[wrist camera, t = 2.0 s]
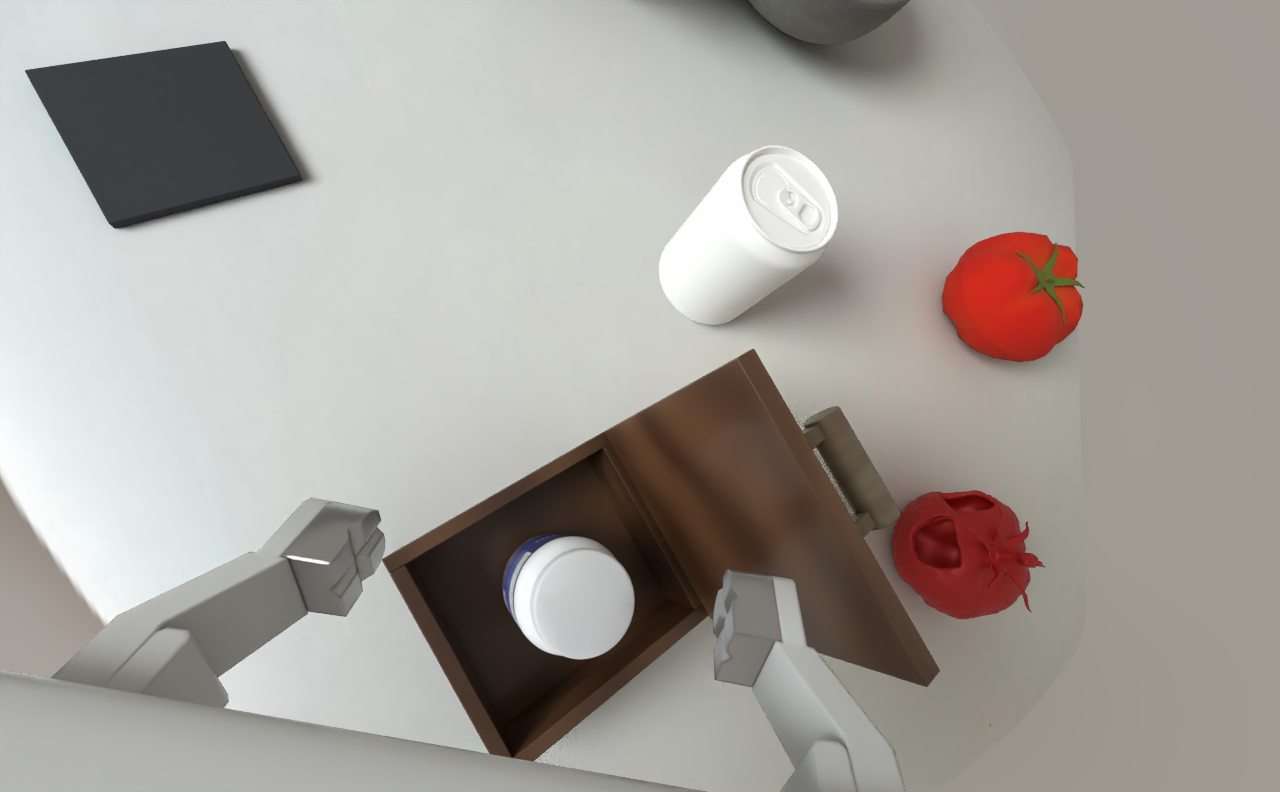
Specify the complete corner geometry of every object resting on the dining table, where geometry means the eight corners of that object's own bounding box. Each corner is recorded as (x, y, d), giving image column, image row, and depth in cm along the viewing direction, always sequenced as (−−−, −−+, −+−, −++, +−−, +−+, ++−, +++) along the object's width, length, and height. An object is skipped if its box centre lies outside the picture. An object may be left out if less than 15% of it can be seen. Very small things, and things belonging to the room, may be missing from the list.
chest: (496, 741, 30) (506, 784, 25) (392, 553, 30) (381, 559, 25) (675, 600, 35) (712, 613, 31) (586, 441, 36) (607, 429, 31)
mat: (114, 229, 29) (108, 223, 28) (31, 78, 29) (23, 69, 29) (303, 180, 33) (300, 174, 32) (228, 48, 33) (225, 40, 33)
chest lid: (927, 687, 17) (998, 596, 19) (736, 357, 17) (828, 305, 19) (710, 618, 30) (767, 569, 32) (604, 431, 30) (667, 395, 32)
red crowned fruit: (982, 556, 46) (1104, 564, 38) (926, 638, 42) (1048, 668, 33) (919, 467, 46) (1027, 455, 37) (856, 541, 42) (961, 546, 33)
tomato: (967, 393, 50) (1063, 370, 42) (904, 282, 50) (987, 239, 42) (1032, 342, 55) (1128, 313, 47) (974, 242, 55) (1060, 197, 48)
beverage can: (683, 217, 43) (764, 113, 32) (758, 275, 44) (861, 194, 33) (638, 287, 40) (710, 200, 29) (720, 347, 41) (818, 285, 30)
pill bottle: (601, 543, 34) (658, 553, 25) (579, 636, 32) (631, 683, 23) (516, 523, 32) (542, 525, 23) (488, 619, 30) (505, 663, 21)
